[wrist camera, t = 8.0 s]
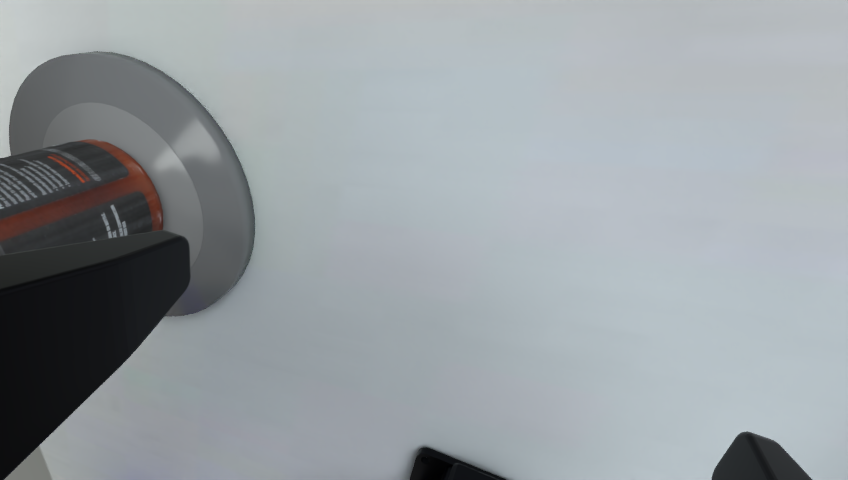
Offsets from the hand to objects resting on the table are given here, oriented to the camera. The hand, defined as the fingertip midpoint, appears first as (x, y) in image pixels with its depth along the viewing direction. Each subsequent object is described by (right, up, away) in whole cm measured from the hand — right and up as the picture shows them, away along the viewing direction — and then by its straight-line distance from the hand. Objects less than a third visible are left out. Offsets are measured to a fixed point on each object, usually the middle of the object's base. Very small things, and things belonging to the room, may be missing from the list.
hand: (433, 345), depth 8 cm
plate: (-14, +4, +18) cm, 23 cm away
